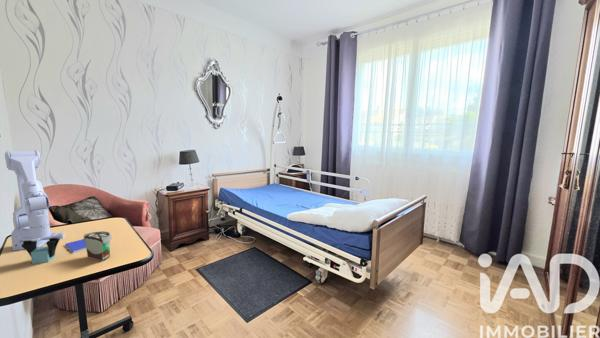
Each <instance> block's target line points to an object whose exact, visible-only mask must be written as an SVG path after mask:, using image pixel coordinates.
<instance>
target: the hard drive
mask: <svg viewBox="0 0 600 338" xmlns="http://www.w3.org/2000/svg"><path fill="white" fill-rule="evenodd" d="M64 246H65V247H66V248H67V249H68V250H69V251H70V252H71V253H72V254H76V253H79V252H83V251H87V250H86V244H85V239H84V238H82V239H78V240H74V241H70V242H66V243H65V244H64Z"/></svg>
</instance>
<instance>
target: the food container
mask: <svg viewBox="0 0 600 338" xmlns="http://www.w3.org/2000/svg"><path fill="white" fill-rule="evenodd" d="M83 239H85V244H86V250H85V251H86V255H87V258H88V259H89V258H90V259H93V260H96V261H101V262H105V261H106V260H108V259H109V258H110V255H111V252H110V251H111V240H112V239H113V237H112V234H111V233H110V232H109V231H103V230H102V231H93V232H89V233H85V234H83Z"/></svg>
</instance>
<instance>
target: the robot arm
mask: <svg viewBox="0 0 600 338" xmlns="http://www.w3.org/2000/svg"><path fill="white" fill-rule="evenodd" d="M4 159H5V165H6V168H7V170H8V171H12V172H14V173H15V176H16V179H17V187H18V193H19V201H20V207H18V208H17V209H16V210H14V211H13V212H12V222H13V227H14V229H13V230H11V234H10V237H11V246H12V249H11V251H19V250H21V251H22V250H25V251H26V252H27V253H28V255H29V256H30V257H31V252H32V251H34V250H35V249H36V248H38V247H43V246H44V245H45V244H46V246H48V249H49V256H50V257H53V256H54V255H55V256H56V249H57V246H58V243H59V242H60V240H63V239H64V238H66V233H65V232H51V226H50V225H51V224H50V217H49V215H50V214H49V209H50V199H49V197H48V195H47V193H46V192H45V190H44V187H43V183H42V182H41V181H40V180H37V174H36V169H38V168H39V166H40V164H41V159H42V157H41V154H40V151H38V150H22V151H21V150H19V151H14V150H13V151H8V150H7V151H5V153H4Z"/></svg>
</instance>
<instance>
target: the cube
mask: <svg viewBox="0 0 600 338" xmlns="http://www.w3.org/2000/svg"><path fill="white" fill-rule="evenodd" d="M55 257H56V254H55V255H54V256H53V257H50V256H49V249H48V246H47V245H46V246H41V247H38V248H36V249H35V250H34V251H32V252H31V256H30V259H31V265H37V264H38V265H39V264H44V263H45V264H46V263H49V262H51V260H53V259H54V258H55Z"/></svg>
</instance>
